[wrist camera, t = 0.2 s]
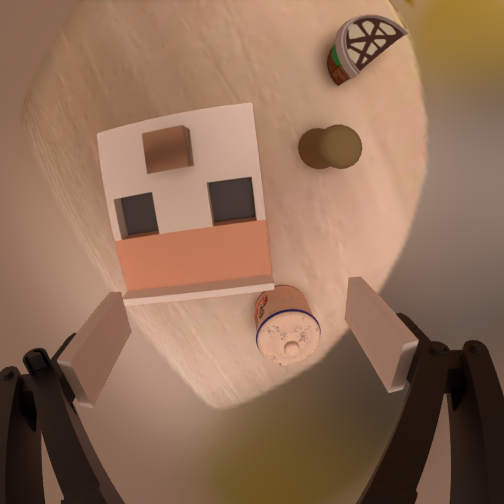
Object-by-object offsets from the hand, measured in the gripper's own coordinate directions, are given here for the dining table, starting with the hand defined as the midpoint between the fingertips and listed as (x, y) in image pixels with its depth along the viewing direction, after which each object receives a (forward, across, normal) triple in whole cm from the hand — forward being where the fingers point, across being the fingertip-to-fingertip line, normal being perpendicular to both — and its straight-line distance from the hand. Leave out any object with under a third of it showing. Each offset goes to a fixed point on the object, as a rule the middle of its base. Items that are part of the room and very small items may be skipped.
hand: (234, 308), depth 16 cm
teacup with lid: (+28, +6, -17) cm, 33 cm away
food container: (+28, +17, +24) cm, 41 cm away
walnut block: (+24, -8, +10) cm, 27 cm away
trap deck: (+28, -7, +3) cm, 29 cm away
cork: (+28, +12, +9) cm, 32 cm away
